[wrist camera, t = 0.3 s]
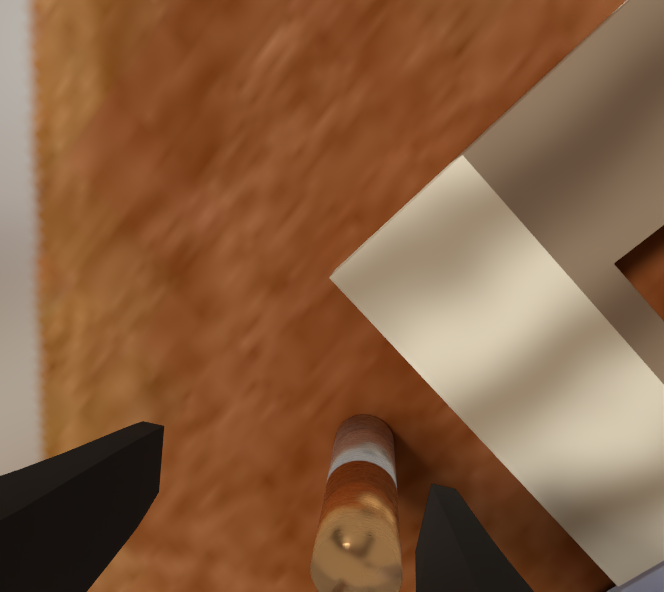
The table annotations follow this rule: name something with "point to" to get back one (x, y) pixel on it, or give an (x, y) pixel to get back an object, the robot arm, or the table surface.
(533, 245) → the board
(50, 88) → the table surface
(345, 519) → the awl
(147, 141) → the table surface
